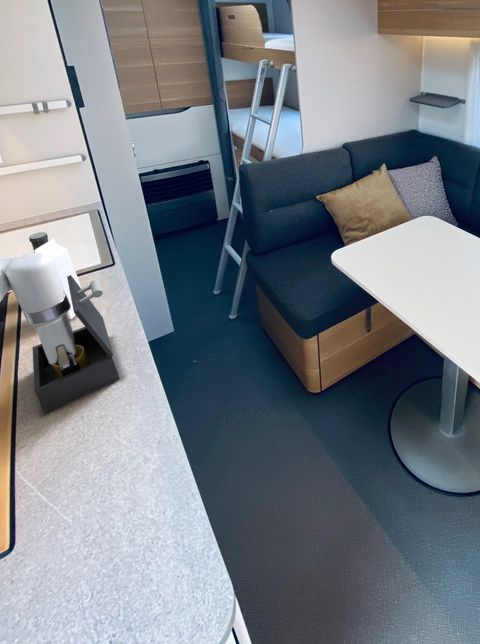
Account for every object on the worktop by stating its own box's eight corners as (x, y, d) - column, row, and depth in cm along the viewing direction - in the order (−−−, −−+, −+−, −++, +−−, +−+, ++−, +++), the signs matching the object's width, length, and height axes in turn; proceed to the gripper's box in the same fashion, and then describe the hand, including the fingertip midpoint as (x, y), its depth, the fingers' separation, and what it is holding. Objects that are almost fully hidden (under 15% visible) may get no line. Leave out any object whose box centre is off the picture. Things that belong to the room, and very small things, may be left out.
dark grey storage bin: (45, 414, 85) (34, 392, 83) (41, 367, 97) (32, 347, 94) (119, 378, 93) (112, 357, 91) (108, 339, 105) (101, 319, 102)
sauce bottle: (50, 302, 119) (27, 244, 111) (40, 296, 122) (16, 238, 114) (75, 290, 124) (54, 233, 116) (64, 284, 127) (43, 228, 119)
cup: (86, 377, 92) (79, 361, 91) (54, 386, 91) (47, 369, 89) (93, 358, 98) (87, 342, 96) (63, 365, 96) (56, 349, 94)
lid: (73, 312, 83) (101, 297, 86) (66, 276, 95) (91, 264, 97) (109, 357, 91) (134, 342, 93) (99, 319, 102) (121, 307, 104)
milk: (52, 318, 113) (22, 250, 104) (70, 303, 118) (43, 237, 110) (71, 319, 112) (43, 251, 103) (88, 305, 117) (63, 238, 109)
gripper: (24, 295, 91) (51, 356, 98) (25, 339, 79) (56, 405, 86) (65, 282, 95) (88, 341, 102) (72, 321, 83) (98, 385, 90)
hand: (73, 369), depth 94 cm, fingers closed on cup, 6 cm apart
